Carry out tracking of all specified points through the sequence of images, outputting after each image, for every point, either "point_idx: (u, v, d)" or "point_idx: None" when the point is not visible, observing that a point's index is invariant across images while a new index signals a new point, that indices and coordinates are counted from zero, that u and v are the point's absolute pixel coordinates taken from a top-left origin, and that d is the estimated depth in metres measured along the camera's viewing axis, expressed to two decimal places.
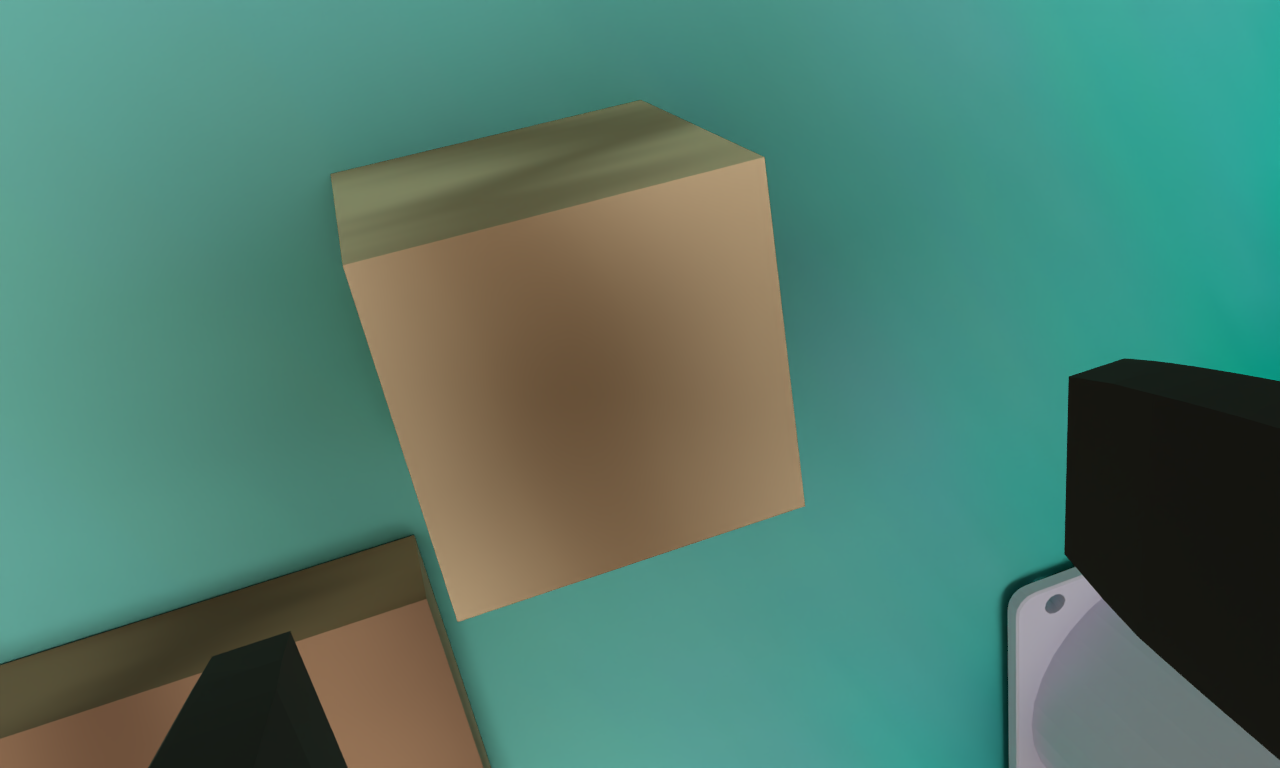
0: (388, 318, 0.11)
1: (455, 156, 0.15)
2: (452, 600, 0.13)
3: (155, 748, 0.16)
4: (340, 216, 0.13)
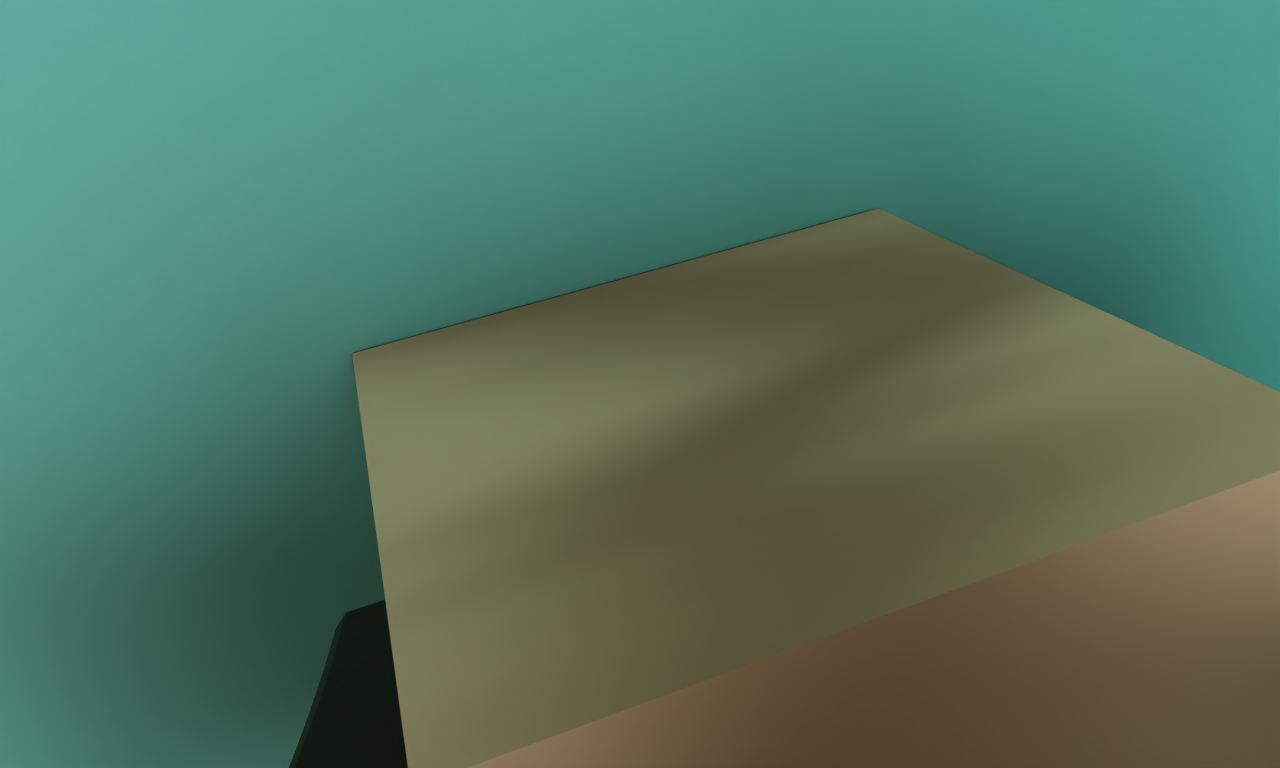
0: None
1: (583, 333, 0.08)
2: None
3: None
4: (382, 519, 0.06)
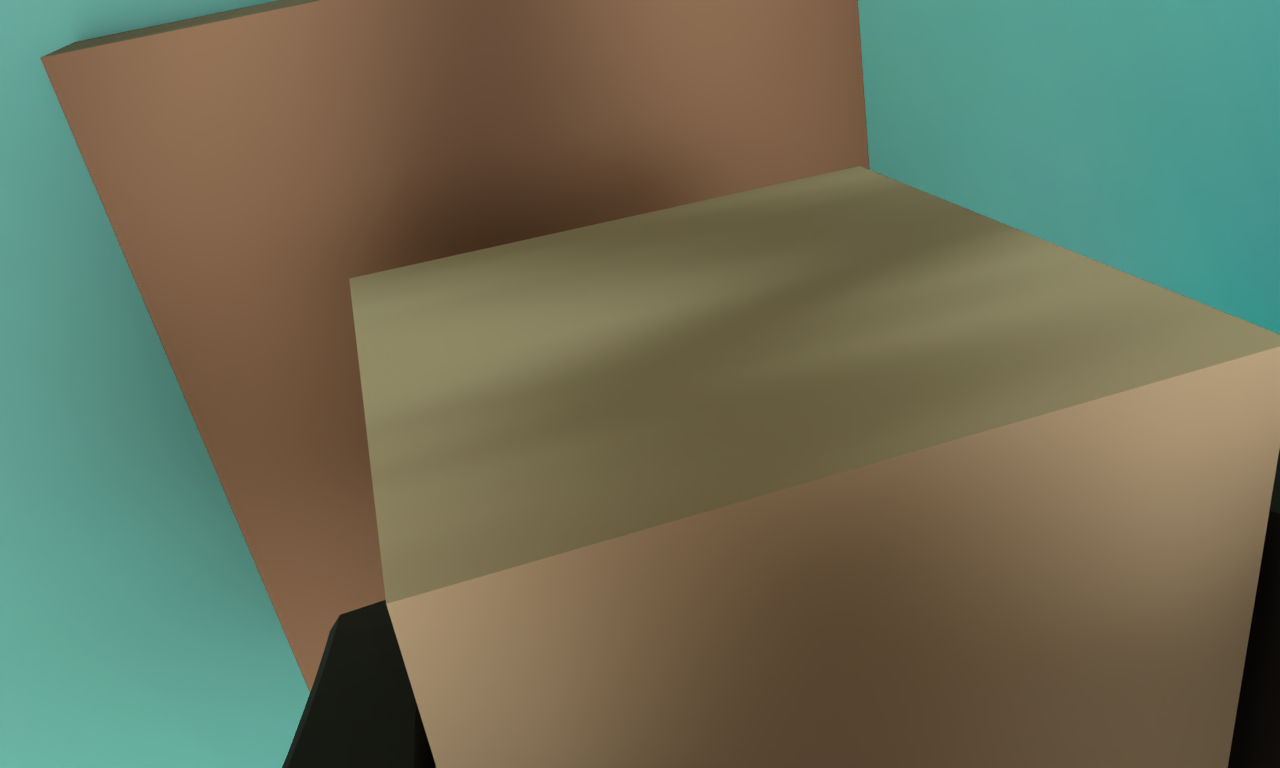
0: (485, 704, 0.05)
1: (571, 263, 0.08)
2: None
3: (526, 53, 0.13)
4: (372, 405, 0.06)
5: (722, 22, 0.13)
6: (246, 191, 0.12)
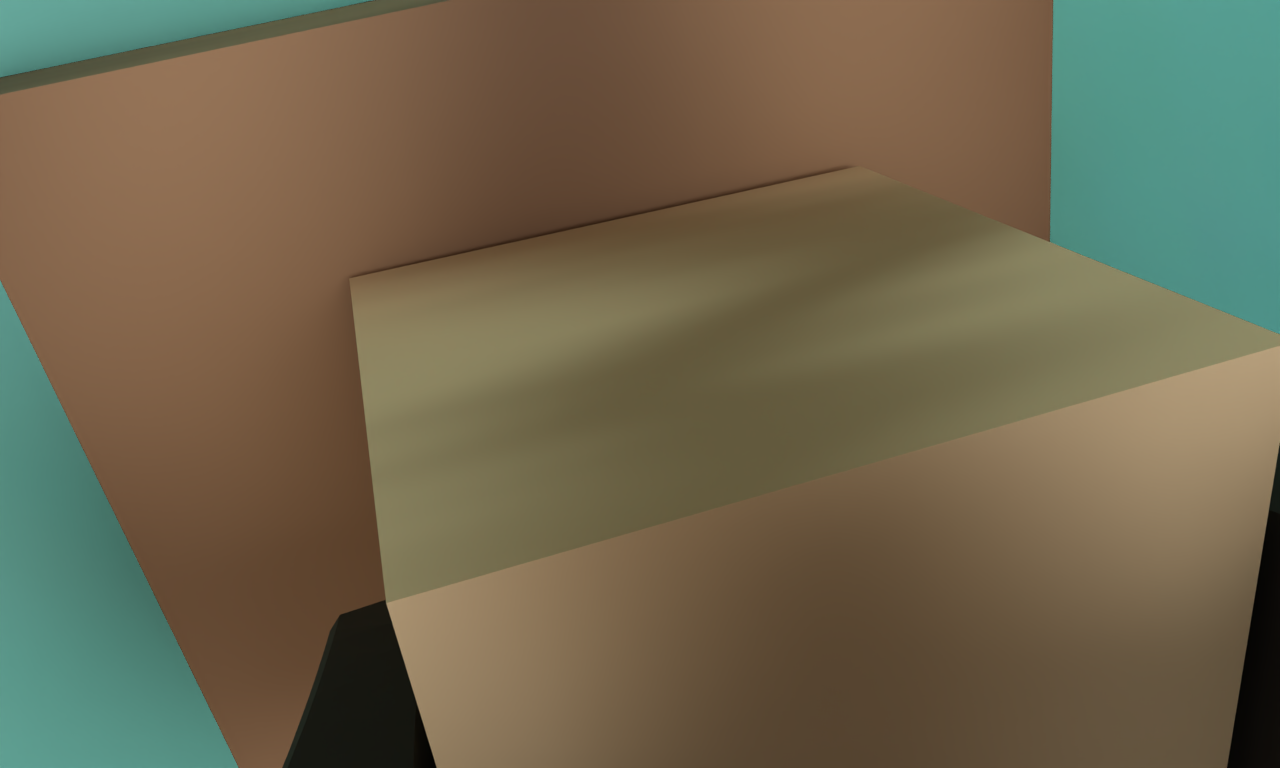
0: (485, 704, 0.05)
1: (571, 263, 0.08)
2: None
3: (615, 96, 0.09)
4: (372, 405, 0.06)
5: (876, 51, 0.10)
6: (224, 292, 0.09)
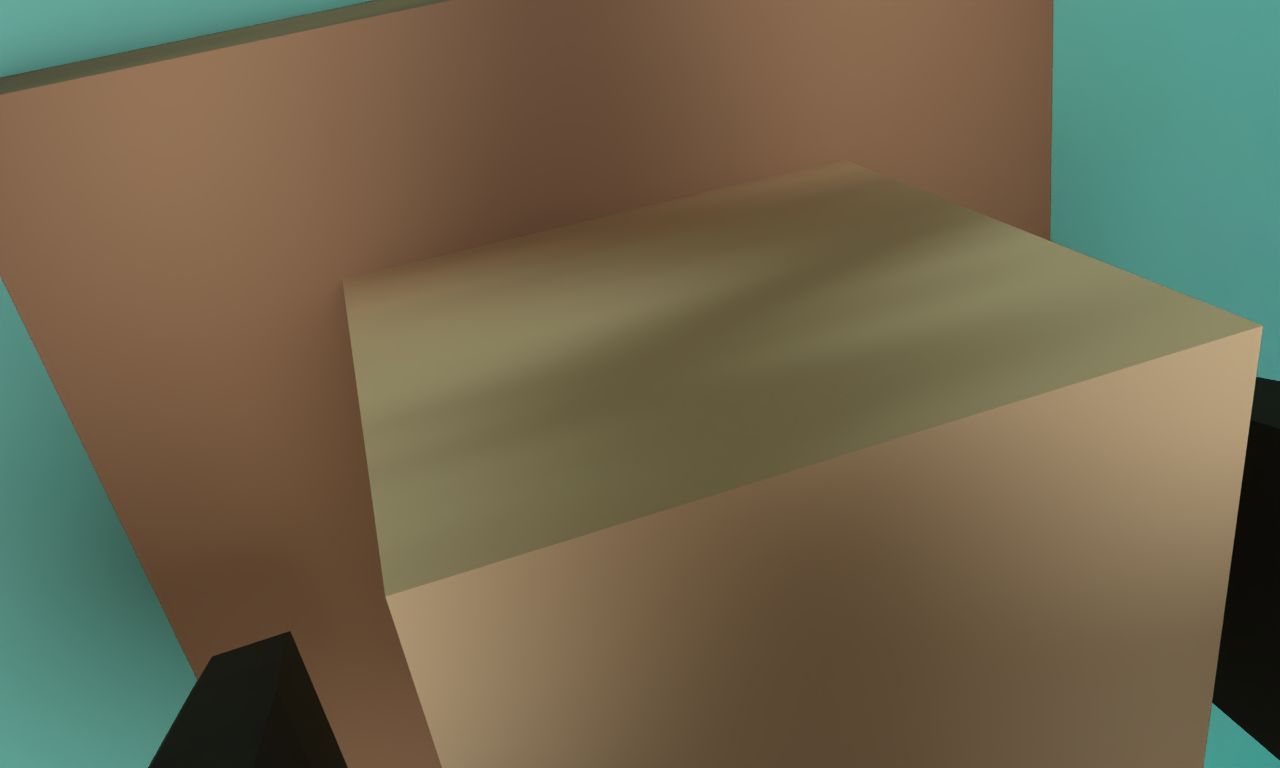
0: (482, 690, 0.05)
1: (560, 260, 0.09)
2: None
3: (615, 96, 0.09)
4: (367, 404, 0.07)
5: (877, 51, 0.10)
6: (226, 292, 0.09)
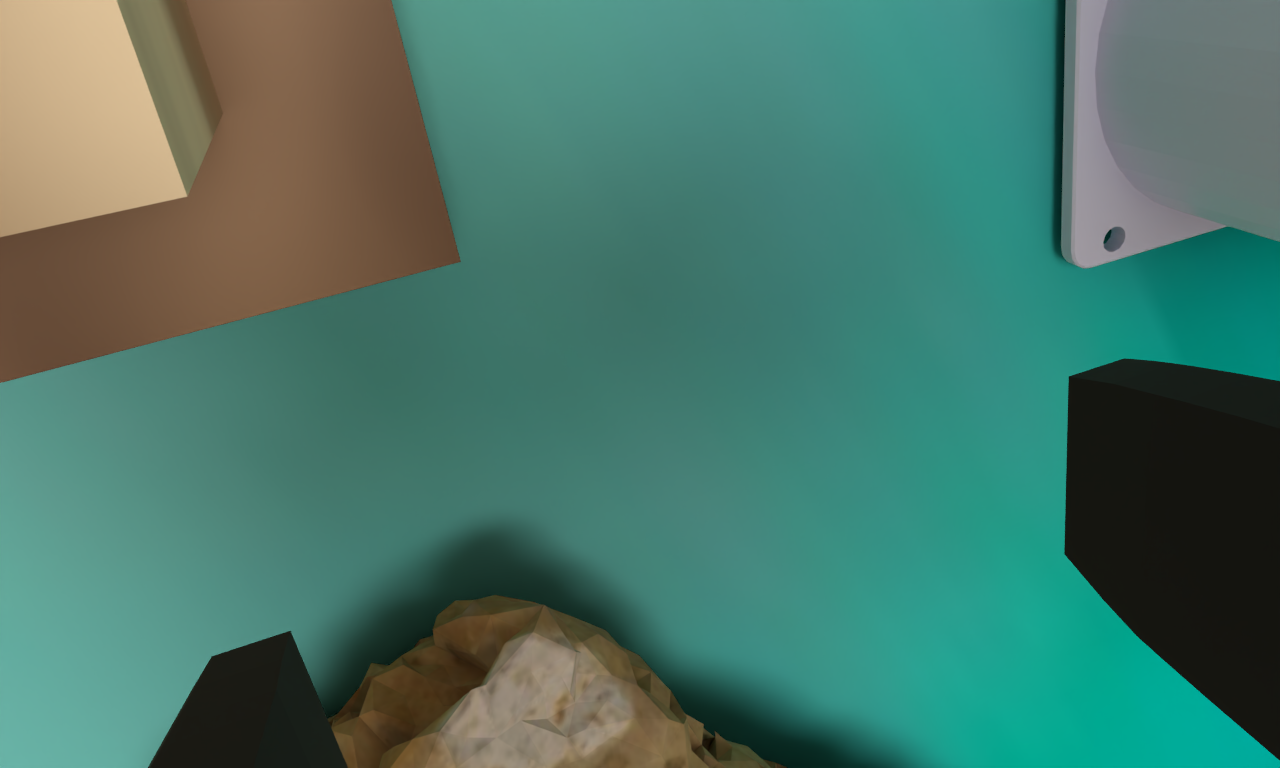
0: None
1: None
2: None
3: None
4: None
5: None
6: None
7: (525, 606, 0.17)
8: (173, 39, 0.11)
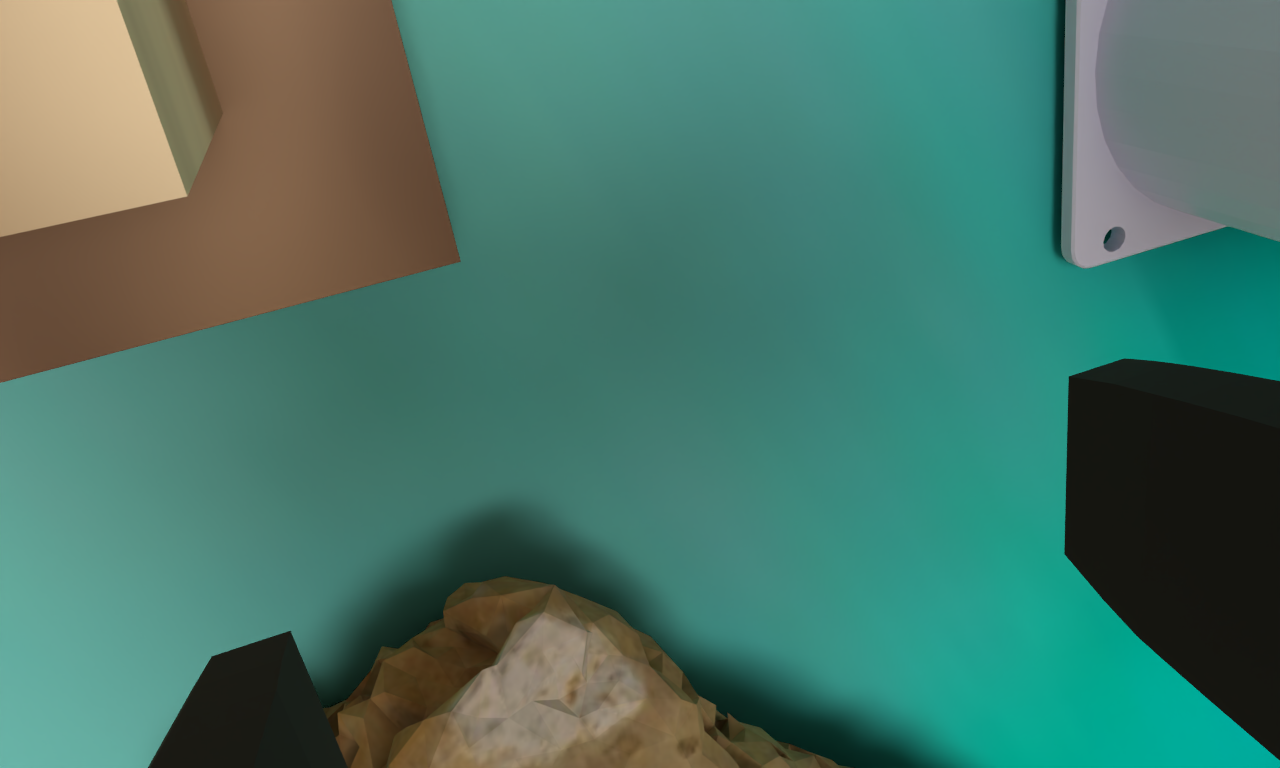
0: None
1: None
2: None
3: None
4: None
5: None
6: None
7: (535, 586, 0.17)
8: (173, 39, 0.11)
